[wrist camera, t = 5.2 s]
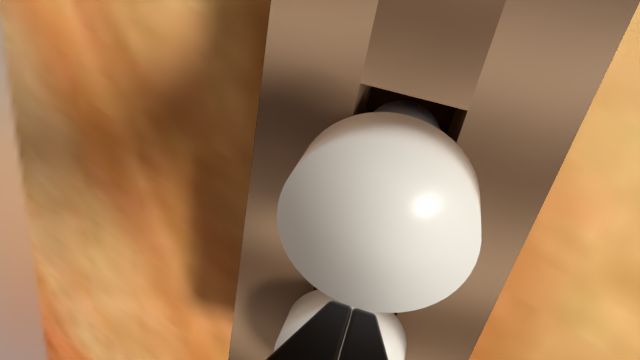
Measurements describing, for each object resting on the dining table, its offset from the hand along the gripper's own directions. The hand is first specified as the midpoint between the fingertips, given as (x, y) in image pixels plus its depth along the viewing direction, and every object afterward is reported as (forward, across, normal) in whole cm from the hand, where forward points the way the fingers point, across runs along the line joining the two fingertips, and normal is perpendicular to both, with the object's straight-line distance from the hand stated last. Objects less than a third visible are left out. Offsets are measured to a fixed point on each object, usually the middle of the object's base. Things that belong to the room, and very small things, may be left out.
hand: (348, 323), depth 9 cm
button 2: (+8, 0, 0) cm, 8 cm away
